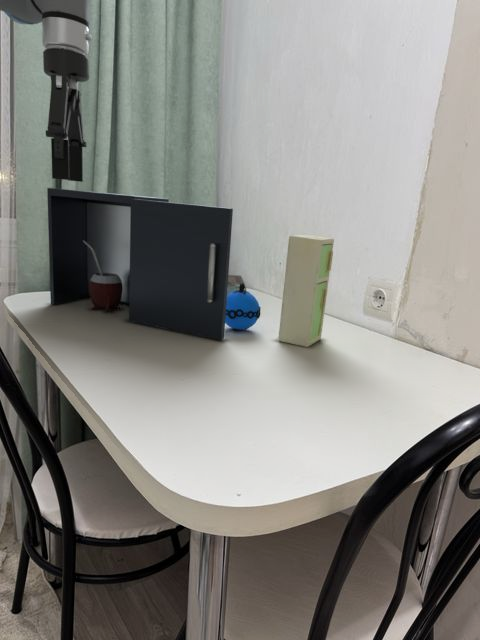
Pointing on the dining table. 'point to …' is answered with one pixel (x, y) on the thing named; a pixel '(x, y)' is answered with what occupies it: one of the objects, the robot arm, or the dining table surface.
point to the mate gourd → (104, 289)
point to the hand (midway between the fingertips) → (68, 180)
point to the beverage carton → (234, 283)
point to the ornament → (241, 309)
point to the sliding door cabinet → (143, 256)
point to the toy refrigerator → (305, 289)
